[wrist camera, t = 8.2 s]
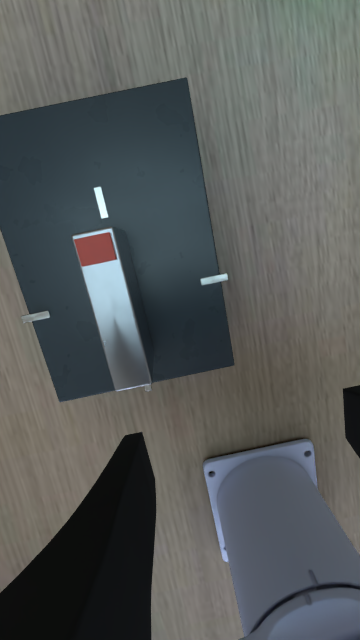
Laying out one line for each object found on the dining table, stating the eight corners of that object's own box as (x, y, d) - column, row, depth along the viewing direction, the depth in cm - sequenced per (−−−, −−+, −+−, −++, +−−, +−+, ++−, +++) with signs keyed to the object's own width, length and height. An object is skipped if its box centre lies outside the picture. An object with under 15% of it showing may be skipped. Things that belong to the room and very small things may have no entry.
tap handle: (154, 352, 16) (152, 387, 12) (125, 358, 16) (114, 395, 12) (125, 229, 15) (112, 225, 11) (92, 236, 15) (67, 234, 11)
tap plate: (230, 351, 20) (242, 371, 17) (70, 384, 20) (54, 411, 17) (188, 105, 16) (195, 73, 13) (-8, 145, 16) (-48, 122, 13)
